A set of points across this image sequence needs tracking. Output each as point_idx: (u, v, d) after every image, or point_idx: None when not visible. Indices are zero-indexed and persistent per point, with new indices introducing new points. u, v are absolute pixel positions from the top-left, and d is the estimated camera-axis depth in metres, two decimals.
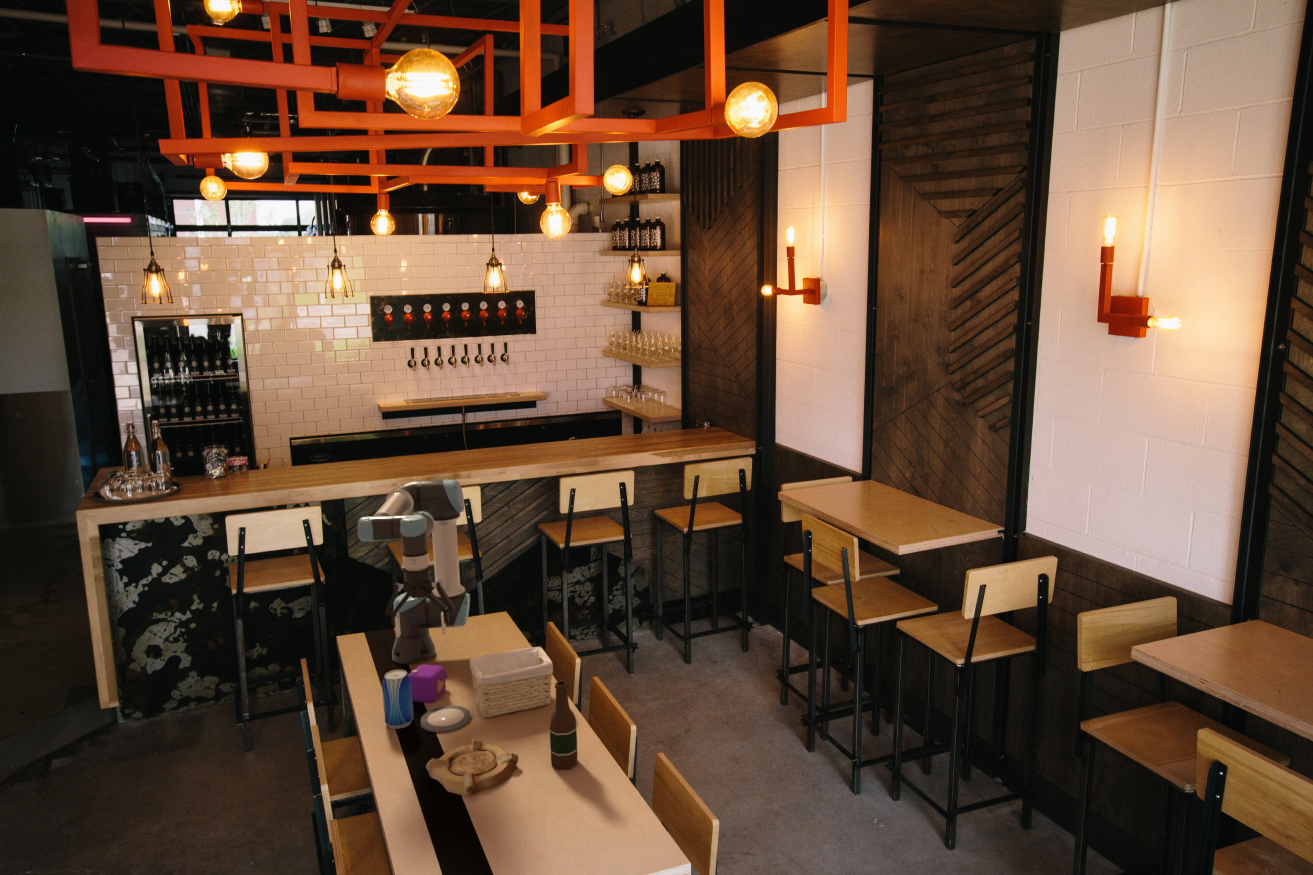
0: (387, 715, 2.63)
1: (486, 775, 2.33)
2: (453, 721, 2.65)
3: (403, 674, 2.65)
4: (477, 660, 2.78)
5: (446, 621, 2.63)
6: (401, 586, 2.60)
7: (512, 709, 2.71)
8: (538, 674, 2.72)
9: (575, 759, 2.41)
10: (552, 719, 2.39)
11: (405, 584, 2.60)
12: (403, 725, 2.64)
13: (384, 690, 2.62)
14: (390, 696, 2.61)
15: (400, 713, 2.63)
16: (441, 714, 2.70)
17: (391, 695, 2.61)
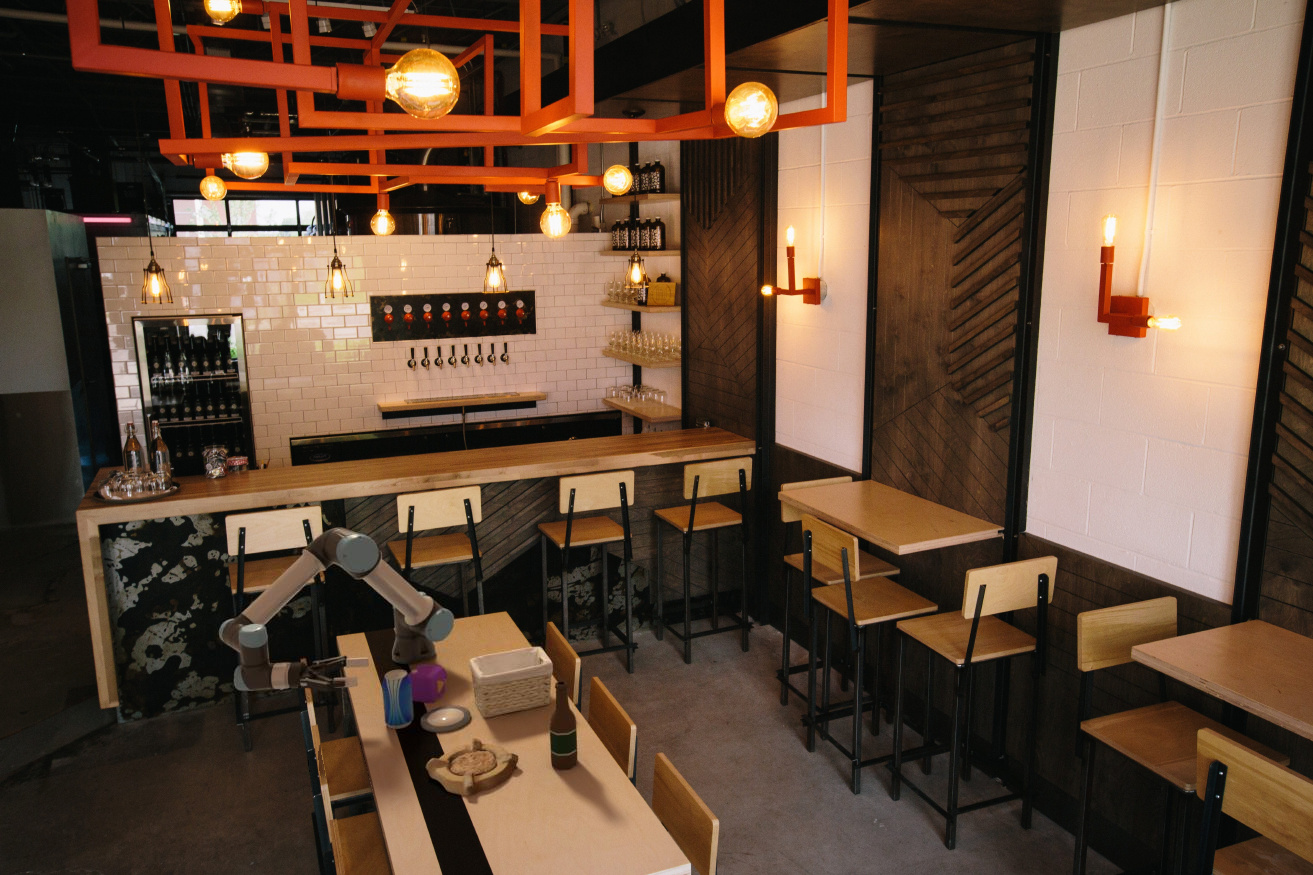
0: (387, 715, 2.63)
1: (486, 775, 2.33)
2: (453, 721, 2.65)
3: (403, 674, 2.65)
4: (477, 660, 2.78)
5: None
6: None
7: (512, 709, 2.71)
8: (538, 674, 2.72)
9: (575, 759, 2.41)
10: (552, 719, 2.39)
11: None
12: (403, 725, 2.64)
13: (384, 690, 2.62)
14: (390, 696, 2.61)
15: (400, 713, 2.63)
16: (441, 714, 2.70)
17: (391, 695, 2.61)
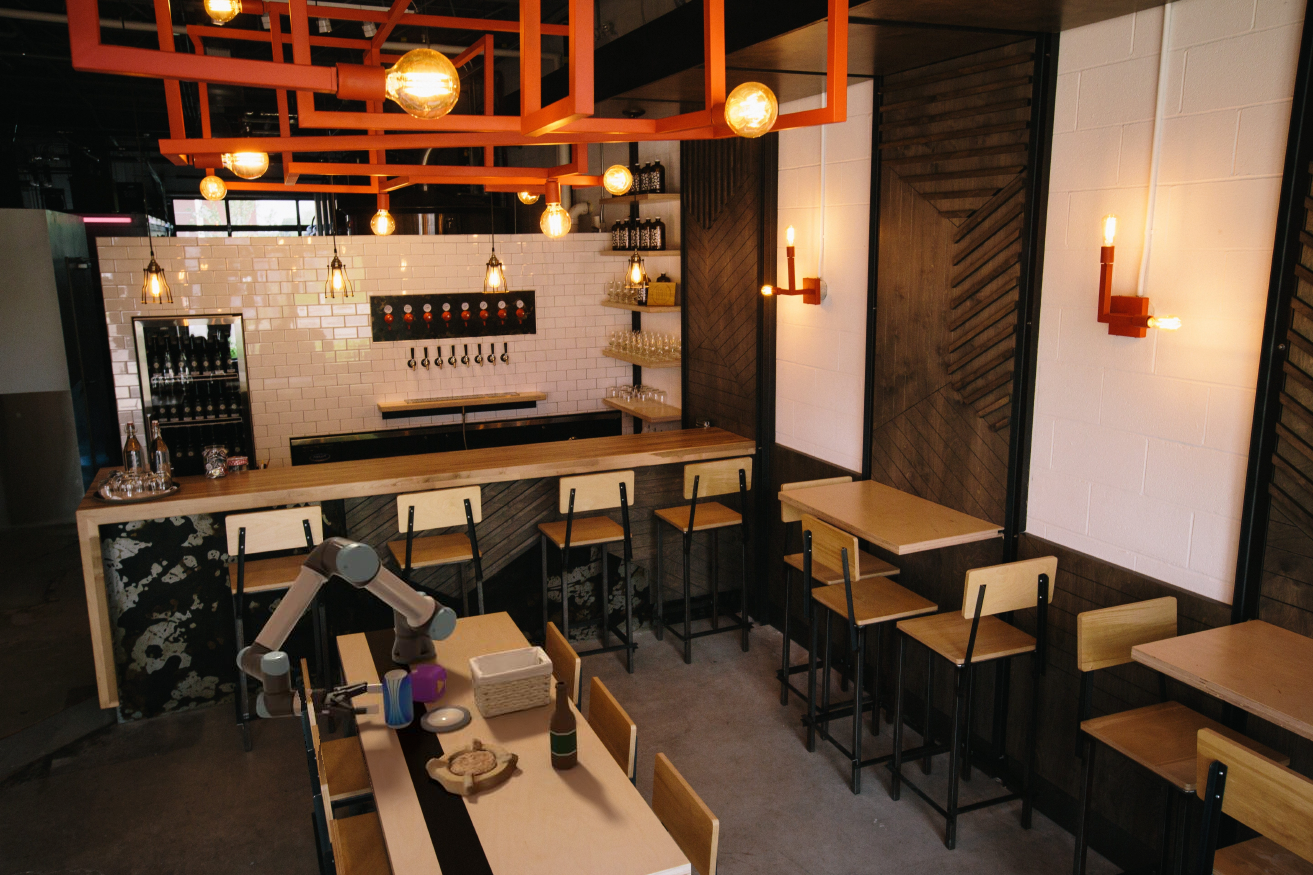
0: (387, 715, 2.63)
1: (486, 775, 2.33)
2: (453, 721, 2.65)
3: (403, 674, 2.65)
4: (476, 660, 2.78)
5: None
6: None
7: (512, 709, 2.71)
8: (538, 674, 2.72)
9: (575, 759, 2.41)
10: (552, 719, 2.39)
11: None
12: (403, 725, 2.64)
13: (384, 690, 2.62)
14: (390, 696, 2.61)
15: (400, 713, 2.63)
16: (441, 714, 2.70)
17: (391, 695, 2.61)
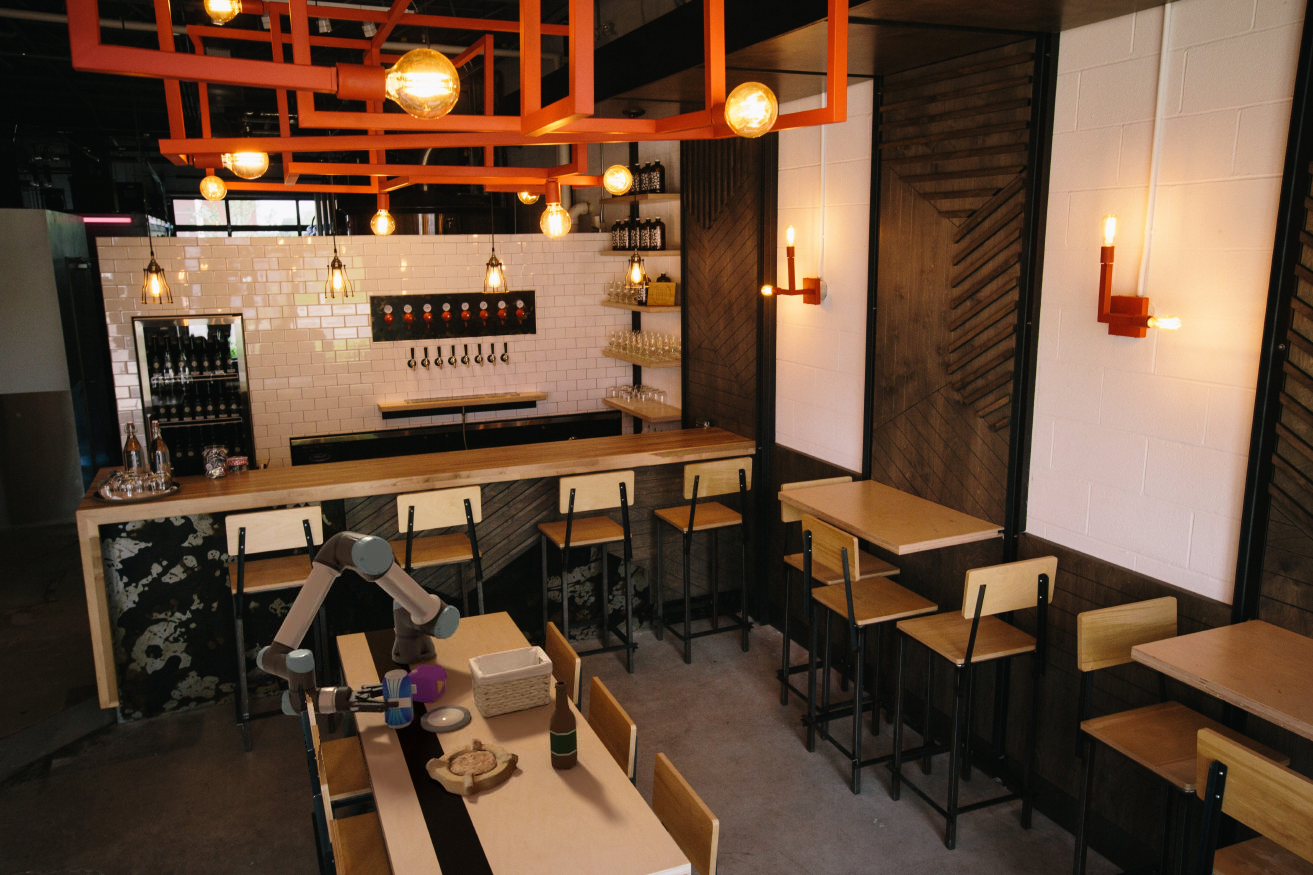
0: (387, 715, 2.63)
1: (486, 775, 2.33)
2: (453, 721, 2.65)
3: (403, 674, 2.65)
4: (476, 660, 2.78)
5: None
6: None
7: (512, 708, 2.71)
8: (538, 673, 2.73)
9: (575, 759, 2.41)
10: (552, 719, 2.39)
11: None
12: (403, 725, 2.64)
13: (384, 690, 2.62)
14: (390, 695, 2.61)
15: (400, 713, 2.63)
16: (441, 714, 2.70)
17: (391, 694, 2.61)
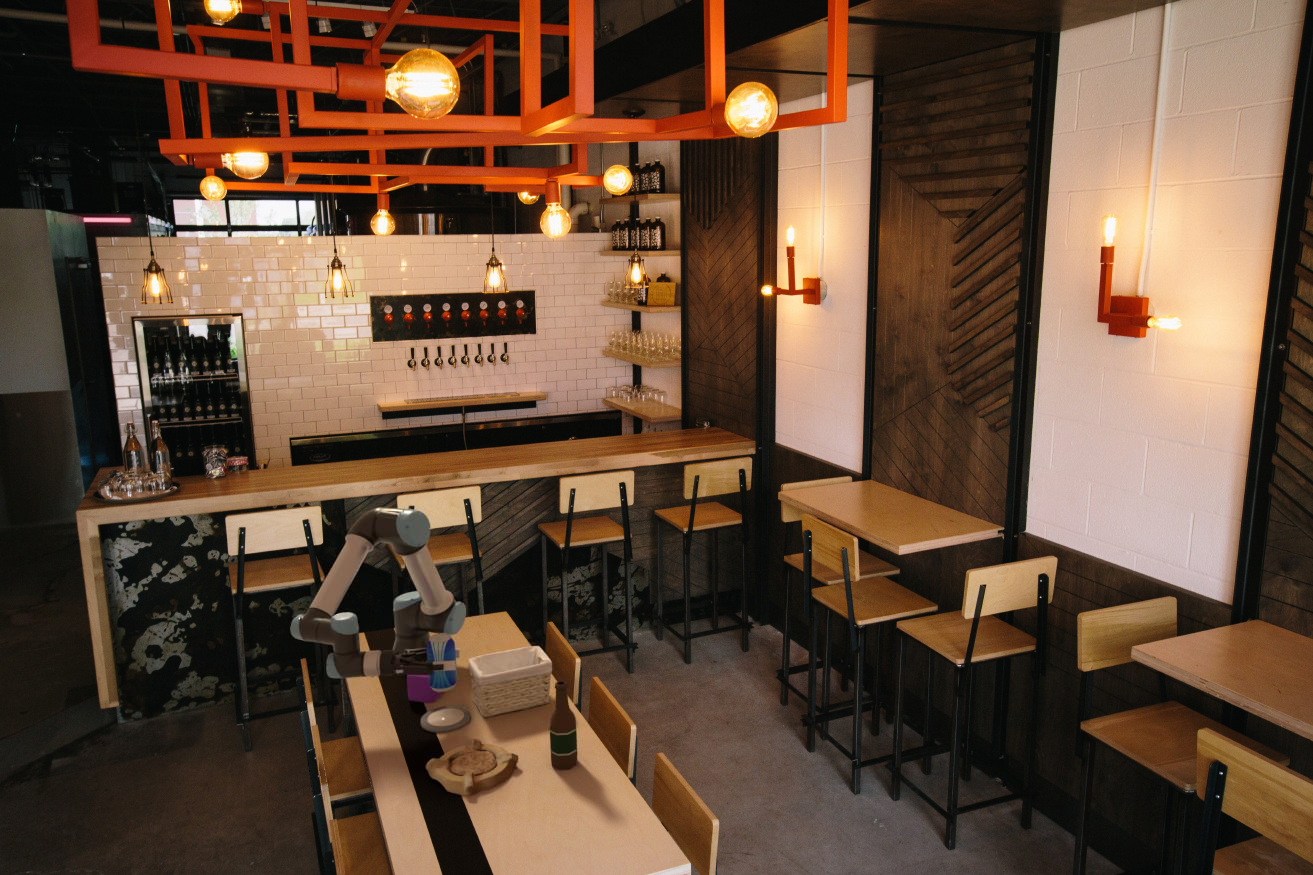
0: (432, 678, 2.62)
1: (486, 775, 2.33)
2: (453, 721, 2.65)
3: (448, 637, 2.64)
4: (476, 660, 2.78)
5: None
6: None
7: (512, 708, 2.72)
8: (537, 673, 2.73)
9: (575, 759, 2.41)
10: (552, 719, 2.39)
11: None
12: (447, 688, 2.63)
13: (429, 653, 2.61)
14: (434, 658, 2.61)
15: (445, 676, 2.62)
16: (441, 714, 2.70)
17: (436, 657, 2.60)
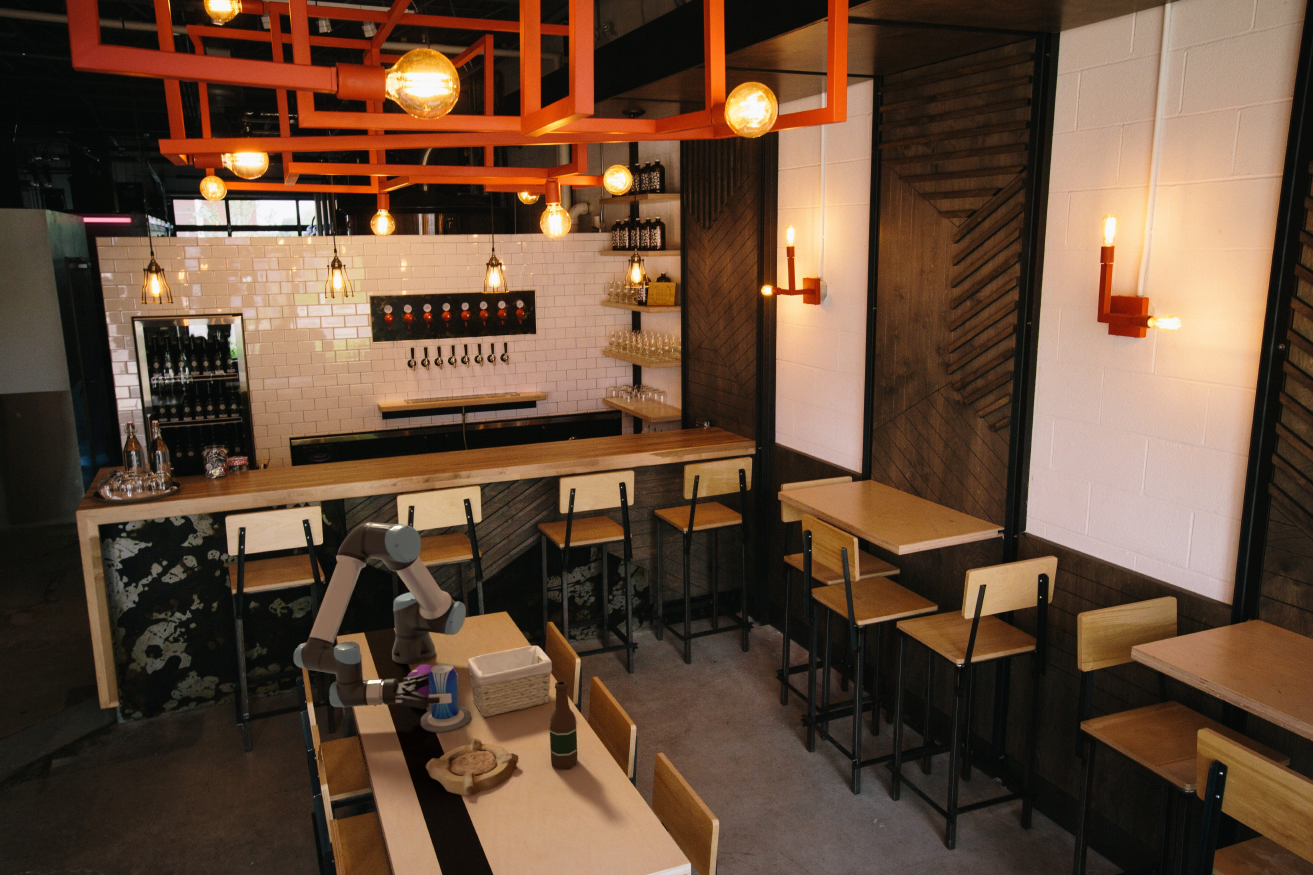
0: (434, 709, 2.64)
1: (486, 775, 2.33)
2: (453, 721, 2.65)
3: (450, 668, 2.66)
4: (475, 660, 2.78)
5: None
6: None
7: (512, 708, 2.72)
8: (537, 672, 2.73)
9: (575, 759, 2.41)
10: (552, 719, 2.39)
11: None
12: (450, 719, 2.65)
13: (431, 684, 2.63)
14: (437, 689, 2.62)
15: (447, 707, 2.64)
16: None
17: (438, 688, 2.62)
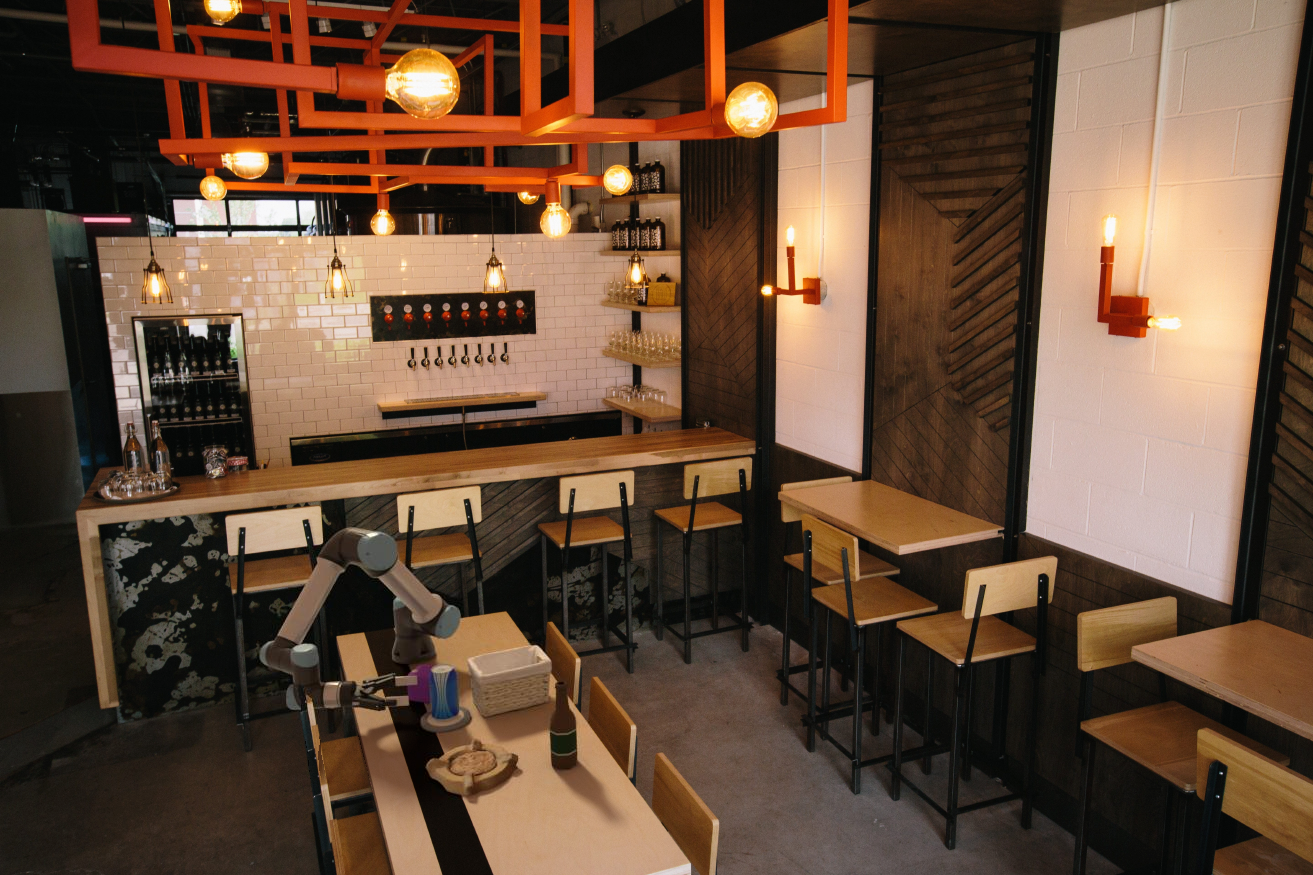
0: (434, 709, 2.64)
1: (486, 775, 2.33)
2: (453, 721, 2.65)
3: (450, 668, 2.66)
4: (475, 660, 2.78)
5: None
6: None
7: (511, 707, 2.72)
8: (537, 672, 2.73)
9: (575, 759, 2.41)
10: (552, 719, 2.39)
11: None
12: (450, 719, 2.65)
13: (431, 684, 2.63)
14: (437, 689, 2.62)
15: (447, 707, 2.64)
16: None
17: (438, 688, 2.62)
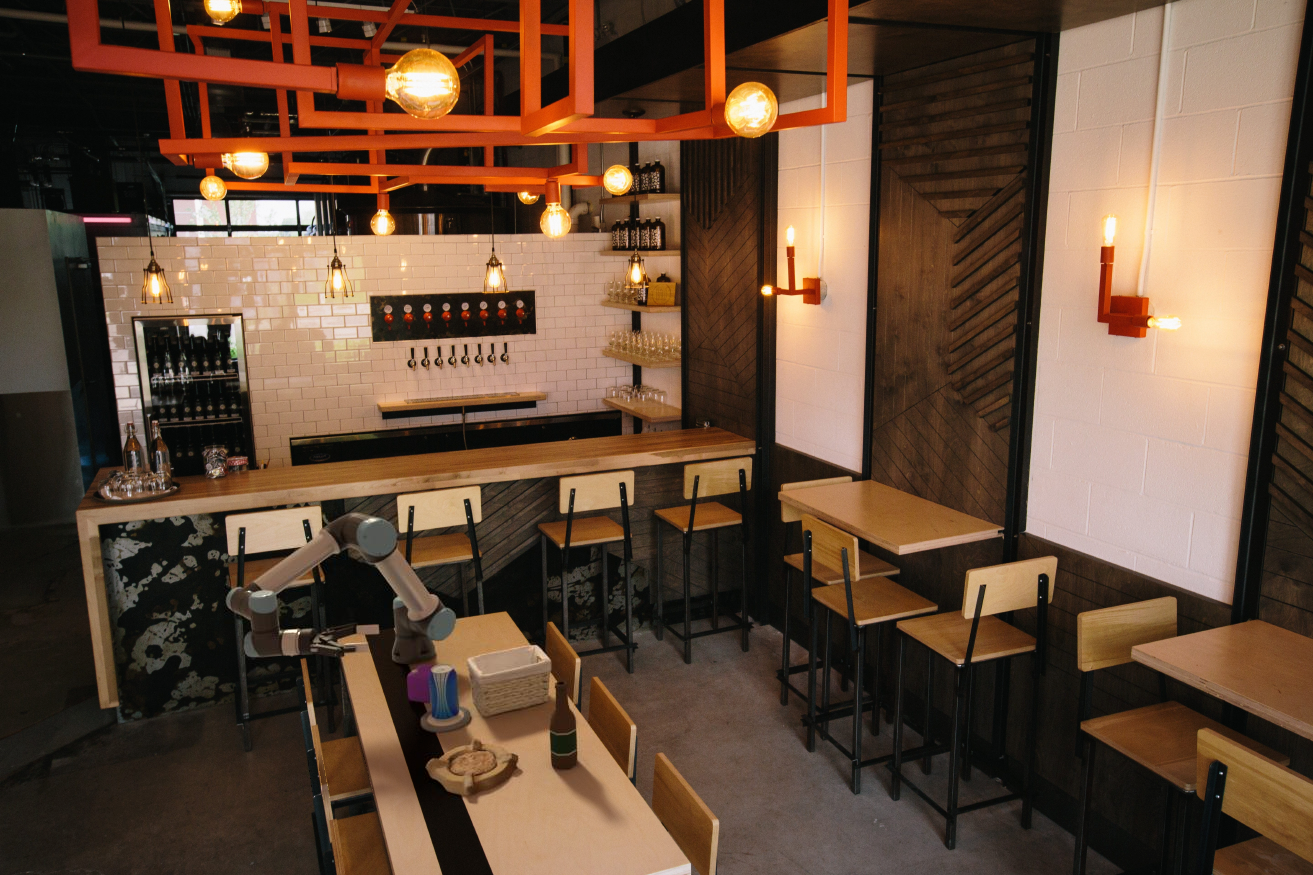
0: (434, 709, 2.64)
1: (486, 775, 2.33)
2: (453, 721, 2.65)
3: (450, 668, 2.66)
4: (474, 659, 2.78)
5: None
6: None
7: (511, 707, 2.72)
8: (537, 672, 2.74)
9: (575, 759, 2.41)
10: (552, 719, 2.39)
11: None
12: (450, 719, 2.65)
13: (431, 684, 2.63)
14: (437, 689, 2.62)
15: (447, 707, 2.64)
16: None
17: (438, 688, 2.62)
